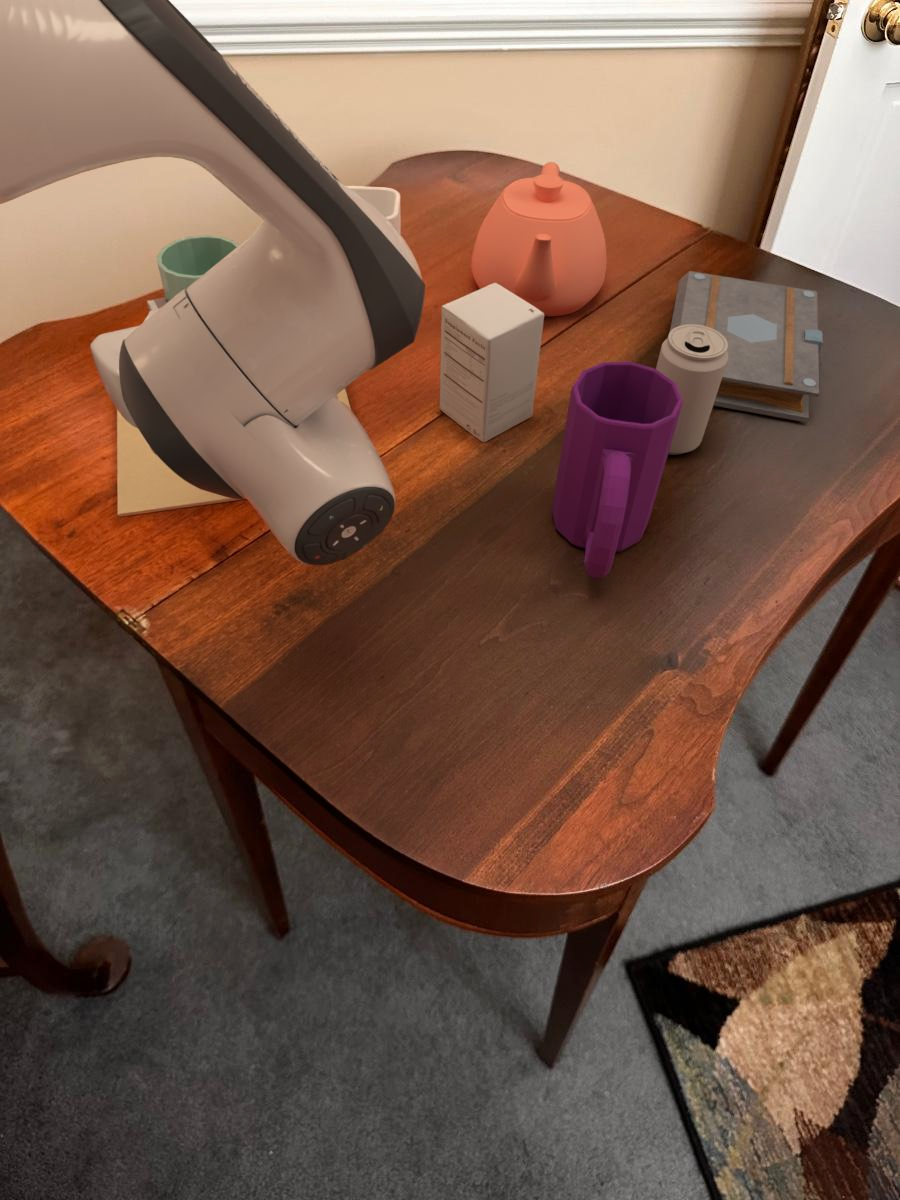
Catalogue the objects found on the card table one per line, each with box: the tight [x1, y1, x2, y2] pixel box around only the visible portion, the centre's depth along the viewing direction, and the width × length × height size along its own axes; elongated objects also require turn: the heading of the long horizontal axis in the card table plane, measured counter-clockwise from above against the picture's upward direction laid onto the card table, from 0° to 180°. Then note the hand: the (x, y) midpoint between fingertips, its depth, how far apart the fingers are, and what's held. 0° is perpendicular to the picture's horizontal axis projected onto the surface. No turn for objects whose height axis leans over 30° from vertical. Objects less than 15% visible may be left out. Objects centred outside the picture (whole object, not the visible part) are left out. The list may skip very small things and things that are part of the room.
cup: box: [345, 185, 402, 236], centre depth 98 cm, size 7×7×15 cm
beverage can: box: [655, 324, 728, 456], centre depth 87 cm, size 6×6×12 cm
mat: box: [116, 388, 352, 518], centre depth 89 cm, size 24×18×1 cm
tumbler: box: [156, 234, 240, 302], centre depth 70 cm, size 6×6×9 cm
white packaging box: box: [439, 283, 545, 444], centre depth 88 cm, size 7×7×13 cm
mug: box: [551, 361, 683, 580], centre depth 75 cm, size 9×16×15 cm, turn 170°
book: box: [669, 270, 824, 423], centre depth 100 cm, size 21×16×5 cm
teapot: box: [470, 161, 608, 317], centre depth 105 cm, size 25×17×13 cm
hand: (206, 296), depth 70 cm, fingers closed on tumbler, 6 cm apart
